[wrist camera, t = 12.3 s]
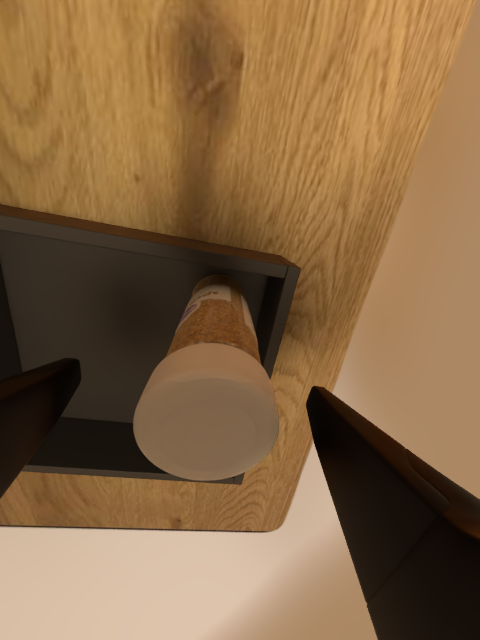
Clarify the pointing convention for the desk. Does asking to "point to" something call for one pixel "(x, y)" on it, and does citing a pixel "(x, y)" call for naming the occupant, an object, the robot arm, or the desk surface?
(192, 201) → the desk surface
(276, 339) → the dark grey tray
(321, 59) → the desk surface
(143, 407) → the sprinkles bottle
